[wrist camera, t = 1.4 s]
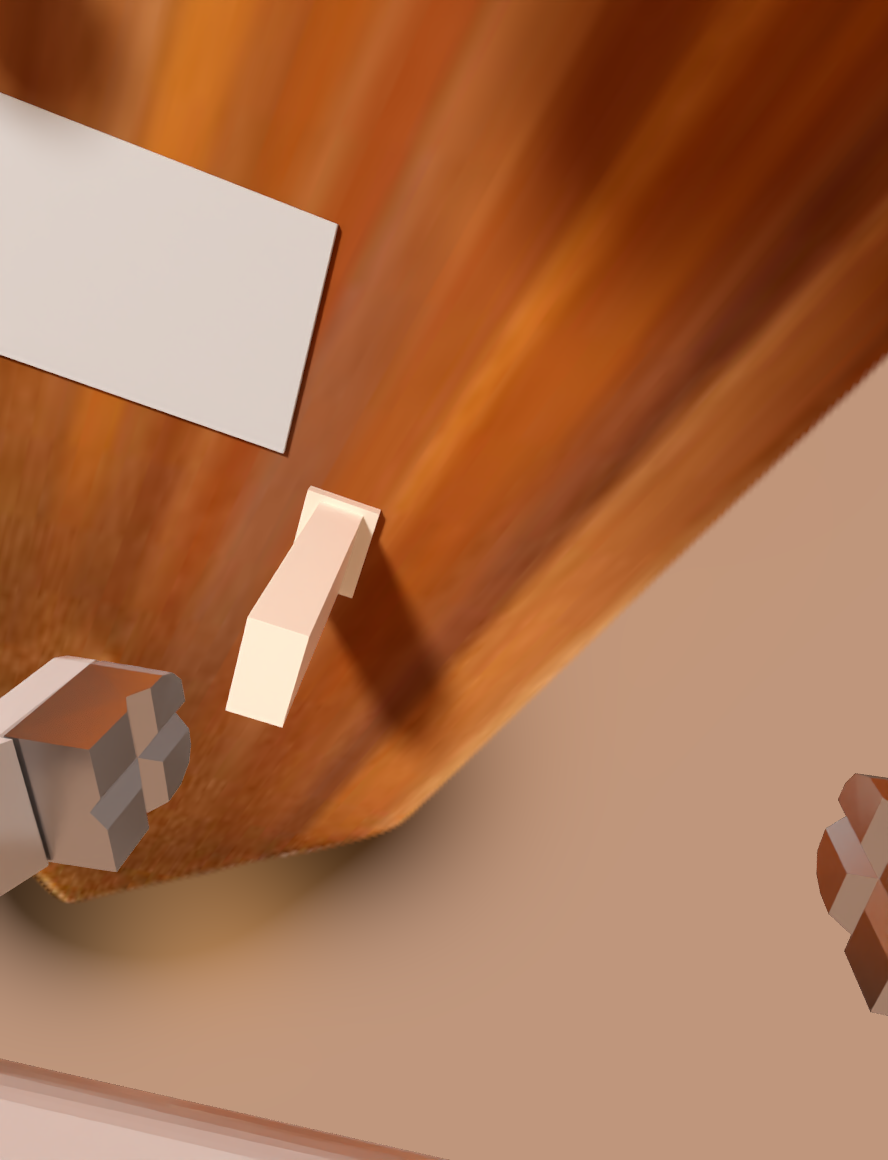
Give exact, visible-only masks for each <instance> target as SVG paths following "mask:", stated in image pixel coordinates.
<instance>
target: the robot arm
mask: <svg viewBox="0 0 888 1160" xmlns="http://www.w3.org/2000/svg"><path fill="white" fill-rule="evenodd" d="M184 702H185V698H184V692H183V687H182V681H181V679H180V678H179V677H177V676H176V675H175V674H173V673H171V672H165V671H159V670H154V669H148V668H142V667H136V666H130V665H124V664H118V663H112V662H107V661H97V660H93V659H86V658H80V657H73V656H62V657H56V658H53V659H52V660H51V661H49V662H48V663H47V664H45V665H44V666H43V667H41V668H40V669H39V670H37V671H36V672H35V673H33V674H32V675H31V676H29V677H28V678H27V679H26V680H24V681H23V682H22V683H20V684H19V685H18V686H16V687H15V688H14V689H12V690H11V691H10V692H8V693H7V694H6V695H4V696H3V697H2V698H0V896H1V895H3V894H5V893H6V892H8V891H9V890H11V889H12V888H14V887H16V886H17V885H19V884H20V883H22V882H23V881H25V880H27V879H28V878H30V877H31V876H33V875H34V874H36V873H38V872H39V871H41V870H42V869H44V868H45V867H47V866H48V862H54V863H61V864H67V865H74V866H80V867H87V868H93V869H100V870H106V871H113V872H117V871H118V870H119V868H120V867H121V866H122V864H123V863H124V861H125V860H126V859H127V857H128V856H129V855H130V853H131V852H132V851H133V849H134V848H135V847H136V845H137V844H138V843H139V841H140V840H141V839H142V837H143V836H144V835H145V833H146V832H147V830H148V829H149V823H148V814H147V813H148V812H150V811H152V810H153V809H155V808H157V807H159V806H161V805H163V804H165V803H167V802H169V800H170V799H171V798H172V796H173V795H174V793H175V792H176V790H177V789H178V788H179V786H180V785H181V783H182V780H183V777H184V775H185V772H186V769H187V767H188V764H189V758H190V748H191V742H190V733H189V728H188V727H187V726H186V725H185V724H184V722H183V721H182V720H181V719H180V718H179V716H178V715H177V714H176V712H177V711H178V710H179V708H180V707H181V706H182V704H183V703H184ZM838 801H839V803H840V805H841V807H842V809H843V811H844V813H845V815H846V816H845V817H844V818H842V819H840V820H839V821H837V822H835V823H834V824H832V825H831V826H829V827H827V828H826V829H825V832H824V834H823V837H822V840H821V842H820V845H819V848H818V852H817V878H818V883H819V889H820V893H821V896H822V899H823V901H824V904H825V906H826V908H827V911H828V913H829V915H831V916H832V917H833V918H834V919H835V920H836V921H837V922H838V923H839V924H840V925H841V926H842V927H843V928H845V929H846V930H847V931H848V932H849V933H850V934H851V936H850V939H849V941H848V943H847V946H846V948H845V951H844V952H845V954H846V956H847V959H848V961H849V963H850V965H851V968H852V970H853V972H854V975H855V977H856V980H857V982H858V984H859V987H860V989H861V991H862V993H863V996H864V998H865V1000H866V1003H867V1005H868V1007H869V1010H870V1012H872V1013H877V1014H882V1015H887V1016H888V778H885V777H878V776H871V775H864V774H854V775H853V776H852V777H851V778H850V779H849V780H848V781H847V782H846V783H845V785H844V787H843V790H842V792H841V794H840V796H839V798H838ZM0 1160H448V1159H443V1158H439V1157H435V1156H430V1155H426V1154H421V1153H417V1152H412V1151H408V1150H403V1149H399V1148H395V1147H390V1146H386V1145H381V1144H377V1143H373V1142H368V1141H364V1140H359V1139H355V1138H350V1137H346V1136H341V1135H337V1134H333V1133H328V1132H323V1131H319V1130H315V1129H310V1128H306V1127H301V1126H297V1125H293V1124H288V1123H284V1122H279V1121H275V1120H270V1119H265V1118H261V1117H257V1116H253V1115H248V1114H243V1113H239V1112H235V1111H230V1110H225V1109H221V1108H217V1107H213V1106H208V1105H204V1104H199V1103H195V1102H190V1101H186V1100H181V1099H177V1098H173V1097H168V1096H164V1095H159V1094H155V1093H150V1092H146V1091H142V1090H137V1089H133V1088H128V1087H124V1086H120V1085H115V1084H110V1083H106V1082H102V1081H97V1080H92V1079H88V1078H84V1077H80V1076H75V1075H71V1074H66V1073H62V1072H57V1071H53V1070H48V1069H44V1068H39V1067H35V1066H31V1065H26V1064H22V1063H18V1062H13V1061H9V1060H4V1059H0Z"/></svg>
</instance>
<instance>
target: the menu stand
mask: <svg viewBox="0 0 888 1160" xmlns="http://www.w3.org/2000/svg"><path fill="white" fill-rule="evenodd" d="M380 512H381V510H380V509H377V508H374V507H371V506H368V505H365V504H362V503H360V502H357V501H354V500H351V499H348V498H345V497H342V496H339V495H336V494H333V493H331V492H328V491H325V490H322V489H319V488H316V487H313V486H310V488H309V489H308V491H307V495H306V499H305V503H304V507H303V510H302V514H301V518H300V522H299V526H298V529H297V533H296V537H295V541H294V544H293V546H292V547H291V549H290V551H289V552H288V554H287V555H286V557H285V558H284V560H283V562H282V563H281V565H280V566H279V568H278V570H277V571H276V573H275V574H274V576H273V578H272V579H271V581H270V582H269V584H268V585H267V587H266V589H265V590H264V592H263V593H262V595H261V597H260V598H259V600H258V601H257V603H256V604H255V606H254V608H253V609H252V611H251V612H250V614H249V616H248V618H247V622H246V626H245V631H244V635H243V639H242V643H241V647H240V652H239V656H238V660H237V664H236V668H235V672H234V677H233V681H232V685H231V689H230V693H229V698H228V702H227V706H226V711H230V712H233V713H236V714H240V715H243V716H246V717H249V718H253V719H256V720H259V721H263V722H266V723H269V724H272V725H276V726H279V727H283V724H284V722H285V719H286V717H287V715H288V712H289V710H290V708H291V705H292V703H293V700H294V698H295V696H296V693H297V691H298V688H299V686H300V684H301V681H302V679H303V677H304V674H305V672H306V669H307V667H308V665H309V662H310V660H311V657H312V655H313V653H314V650H315V648H316V646H317V643H318V641H319V638H320V636H321V634H322V631H323V629H324V626H325V624H326V622H327V619H328V617H329V615H330V612H331V610H332V607H333V605H334V603H335V600H336V598H337V595H338V594H340V595H343V596H346V597H349V598H352V597H353V594H354V591H355V588H356V585H357V582H358V579H359V576H360V573H361V570H362V567H363V564H364V561H365V558H366V554H367V551H368V548H369V545H370V542H371V539H372V536H373V533H374V530H375V527H376V524H377V521H378V518H379V515H380Z"/></svg>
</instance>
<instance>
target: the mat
mask: <svg viewBox="0 0 888 1160" xmlns="http://www.w3.org/2000/svg"><path fill="white" fill-rule="evenodd" d="M337 229H338V224H336V223H333V222H331V221H328V220H326V219H323V218H321V217H318V216H315V215H313V214H310V213H308V212H305V211H303V210H300V209H297V208H295V207H292V206H290V205H287V204H285V203H282V202H280V201H277V200H274V199H272V198H269V197H267V196H264V195H262V194H259V193H257V192H254V191H251V190H249V189H246V188H244V187H241V186H239V185H236V184H234V183H231V182H228V181H226V180H223V179H221V178H218V177H216V176H213V175H210V174H208V173H205V172H203V171H200V170H198V169H195V168H193V167H190V166H187V165H185V164H182V163H180V162H177V161H175V160H172V159H170V158H167V157H164V156H162V155H159V154H157V153H154V152H152V151H149V150H146V149H144V148H141V147H139V146H136V145H134V144H131V143H129V142H126V141H123V140H121V139H118V138H116V137H113V136H111V135H108V134H106V133H103V132H100V131H98V130H95V129H93V128H90V127H88V126H85V125H83V124H80V123H77V122H75V121H72V120H70V119H67V118H65V117H62V116H59V115H57V114H54V113H52V112H49V111H47V110H44V109H42V108H39V107H36V106H34V105H31V104H29V103H26V102H24V101H21V100H19V99H16V98H13V97H11V96H8V95H6V94H3V93H1V92H0V355H3V356H5V357H8V358H11V359H14V360H17V361H20V362H23V363H25V364H28V365H31V366H34V367H37V368H40V369H43V370H45V371H48V372H51V373H54V374H57V375H60V376H63V377H65V378H68V379H71V380H74V381H77V382H80V383H83V384H85V385H88V386H91V387H94V388H97V389H100V390H103V391H105V392H108V393H111V394H114V395H117V396H120V397H123V398H125V399H128V400H131V401H134V402H137V403H140V404H143V405H146V406H148V407H151V408H154V409H157V410H160V411H163V412H166V413H168V414H171V415H174V416H177V417H180V418H183V419H186V420H188V421H191V422H194V423H197V424H200V425H203V426H206V427H208V428H211V429H214V430H217V431H220V432H223V433H226V434H228V435H231V436H234V437H237V438H240V439H243V440H246V441H248V442H251V443H254V444H257V445H260V446H263V447H266V448H268V449H271V450H274V451H277V452H280V453H284V452H285V449H286V445H287V440H288V436H289V432H290V428H291V424H292V419H293V415H294V411H295V407H296V402H297V398H298V394H299V390H300V386H301V381H302V377H303V373H304V369H305V364H306V360H307V356H308V352H309V348H310V343H311V339H312V335H313V331H314V326H315V322H316V318H317V314H318V310H319V305H320V301H321V297H322V293H323V289H324V284H325V280H326V276H327V272H328V267H329V263H330V259H331V255H332V251H333V246H334V242H335V238H336V234H337Z"/></svg>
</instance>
